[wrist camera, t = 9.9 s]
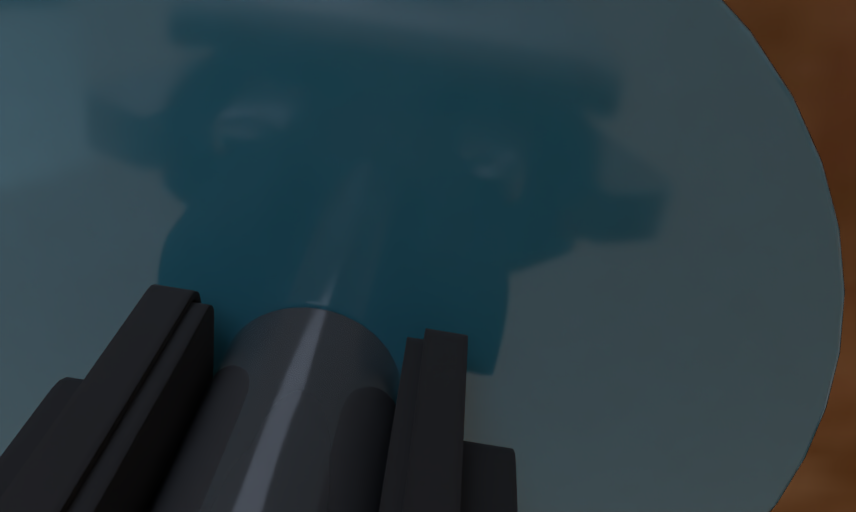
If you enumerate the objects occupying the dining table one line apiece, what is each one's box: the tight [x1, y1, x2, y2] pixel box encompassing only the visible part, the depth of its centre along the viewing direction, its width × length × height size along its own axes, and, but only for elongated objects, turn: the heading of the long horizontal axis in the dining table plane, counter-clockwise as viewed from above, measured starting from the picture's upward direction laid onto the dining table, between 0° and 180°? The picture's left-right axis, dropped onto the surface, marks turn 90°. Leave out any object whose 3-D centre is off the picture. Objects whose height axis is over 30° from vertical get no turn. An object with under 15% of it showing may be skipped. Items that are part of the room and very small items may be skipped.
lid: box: [0, 0, 845, 512], centre depth 9 cm, size 14×14×6 cm
